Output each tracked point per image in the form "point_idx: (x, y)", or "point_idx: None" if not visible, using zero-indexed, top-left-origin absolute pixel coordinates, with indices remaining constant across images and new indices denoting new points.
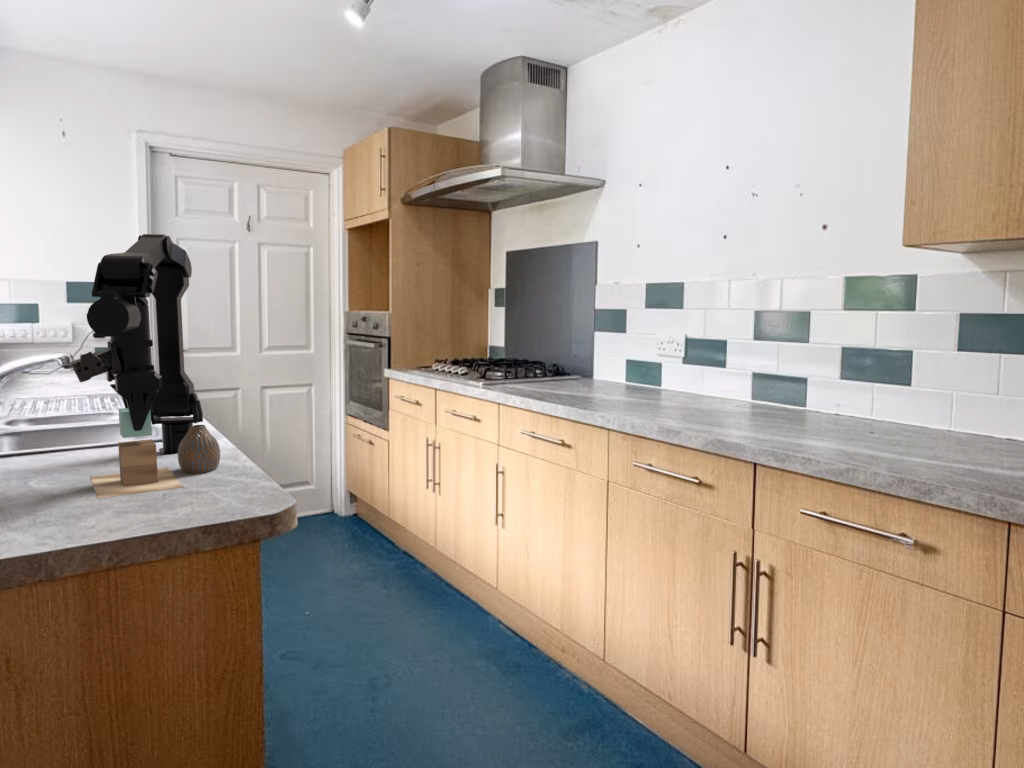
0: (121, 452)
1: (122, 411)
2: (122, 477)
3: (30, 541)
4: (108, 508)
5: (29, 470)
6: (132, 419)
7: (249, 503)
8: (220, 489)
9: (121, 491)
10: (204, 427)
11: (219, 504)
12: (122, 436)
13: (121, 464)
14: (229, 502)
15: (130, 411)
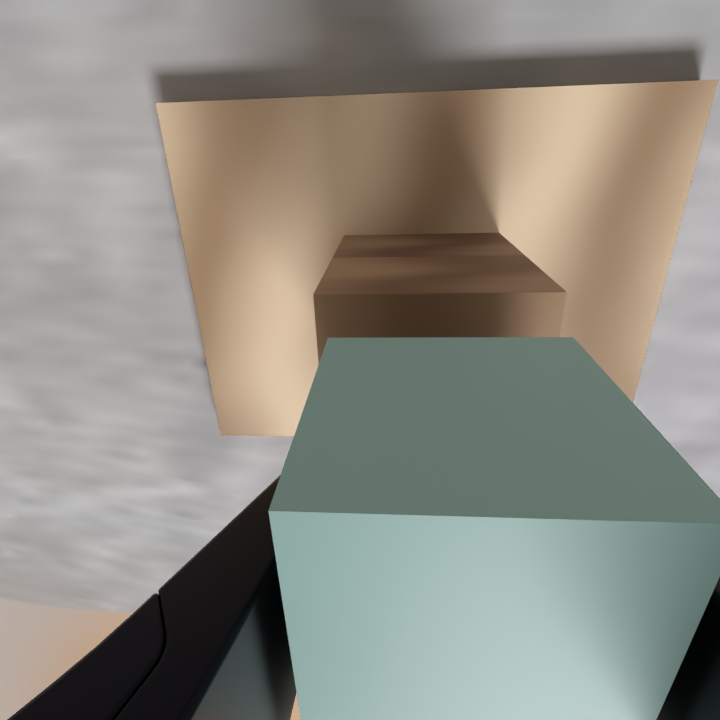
0: (330, 282)
1: (352, 533)
2: (380, 242)
3: None
4: (67, 145)
5: None
6: (234, 526)
7: (11, 535)
8: (211, 514)
9: (247, 217)
10: None
11: (21, 476)
12: (355, 341)
13: (389, 258)
14: (37, 501)
15: (143, 608)
